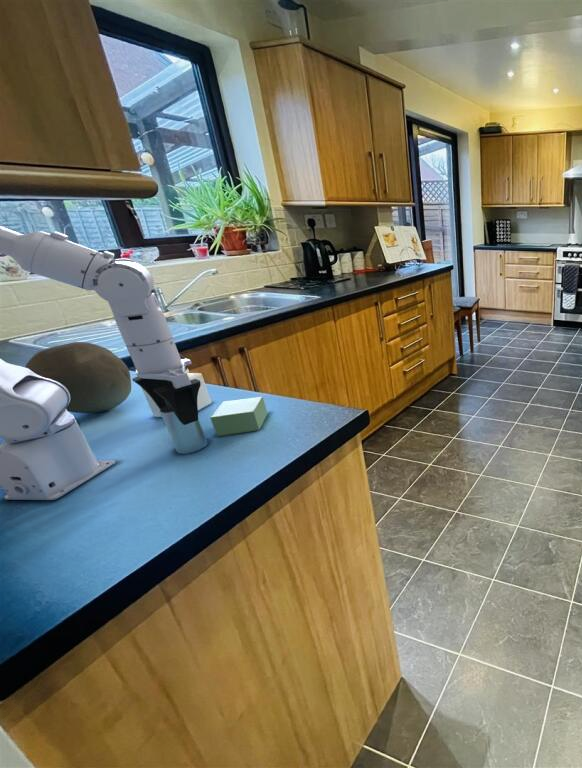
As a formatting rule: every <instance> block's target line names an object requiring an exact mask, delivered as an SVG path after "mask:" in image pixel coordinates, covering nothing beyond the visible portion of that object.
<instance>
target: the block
mask: <svg viewBox="0 0 582 768" xmlns="http://www.w3.org/2000/svg"><path fill="white" fill-rule="evenodd" d="M268 415H269V413H268V410H267V408H266V403H265V399H264V397H263V396H255V397H254V396H253V397H248V398H240V399H233V400H225V401H224V400H223V401H222V403H220V405H219V406H218V407H217V409H216V410H215V411H214V412H213V413H212V414H211V416H210V421H211V423H212V426H213V429H214V432H215V434H216V437H221V436H228V435H229V436H230V435H236V434H241V433H249V432H255V431H260V430H261V427H262V426H263V424H264V422H265V420H266V418H267V416H268Z"/></svg>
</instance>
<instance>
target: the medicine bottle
mask: <svg viewBox="0 0 582 768" xmlns="http://www.w3.org/2000/svg"><path fill="white" fill-rule="evenodd" d="M179 356H180V358H181V359H185V357H184V355H182V354H180V353H179ZM185 372H186V373H187V374H188V377H189V380H193V379H197V380H200V383H201V386H200V388H199V392H198V397H197V406H198V412H199V411H201V410H203V409H204V408H206V407H207V406H209V405H211V404H212V399H211V397H210V393H209V391H208V388H207V385H206V382H205V379H204V377H203V374H202V373H201V372H200V373H199V372H190V370H189V368H188V365H186V366H185ZM140 388H141V390H142V392H143V395H144V397H145V399H146V402H147V403H148V406H149V408H150V411H151V413H152V415H153V417H154V418H162V415H161V413H160V409H159V407H158V406H157V405H156V403H155V402H154V401H153V399H152V398H151V397H150V396H149V394H148V393H147V392H146V391H145V390H144V389H143V388H142V387H141V386H140Z"/></svg>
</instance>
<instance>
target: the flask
mask: <svg viewBox="0 0 582 768" xmlns="http://www.w3.org/2000/svg"><path fill="white" fill-rule="evenodd" d="M165 403H166V405H167V406H165V407H163V408H161V409H160V413H161V415H162V417H161V418H162V420H163V422H164V425H165V427H166V430H167V432H168V435H169V436H170V438H171V441H172V443H173V446H174V448H175V450H176V452H177V454H179V455H180V454H181V455H185V454H186V455H187V454H191V453H195V452H197V451H200V450H202V449H204V448H205V447H206V446H207V445H208V440H207V437H206V435H205V432H204V429H203V427H202V425H201V422H200V419H199V418H198V420H197V421H195V422H192V423H189V424H187V425H183V424H182V423H181V422H180V421H179V419H178V418H177V416H176V415H175V413H174V412H173V410H172V408H171V407H170V406H169V404H168V403H167V402H166V401H165Z"/></svg>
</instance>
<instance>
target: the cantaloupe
mask: <svg viewBox="0 0 582 768" xmlns="http://www.w3.org/2000/svg"><path fill="white" fill-rule="evenodd" d="M24 367H25V368H28V369H30V370H31V371H32V372H34V373H35V374H37V375H39V376H41V377H44V378H48V379H51V380H54V381H57V382H59V383H61V384H62V385H63V386H65V387H66V388H67V390H68V391H69V393H70V402H69V405H68V406H67V407H66V409H67V411H68V412H69V413H75V414H95V413H101V412H106V411H110V410H112V409H114V408H116V407H118V406H119V405H121V404H122V403H124V402H125V401H126V400H127V399H128V397H129V396H130V394H131V393H132V379H131V378H132V377H131V372H130V370H129V367H128V366H127V365H126V363H125V362H124V361H123V360H122V359H121V358H120V357H118V356H117V355H116V354H115V353H114V352H112V351H111V350H110V349H109V348H106V347H105V346H101V345H98V344H95V343H92V342H85V341H72V342H68V343H63V344H57V345H54V346H51V347H48V348H44V349H41V350H39V351H37V352H36V353H34V355H32V356H31V358H30V359H29V360H28V361H27V362H26V364H25V366H24Z"/></svg>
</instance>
